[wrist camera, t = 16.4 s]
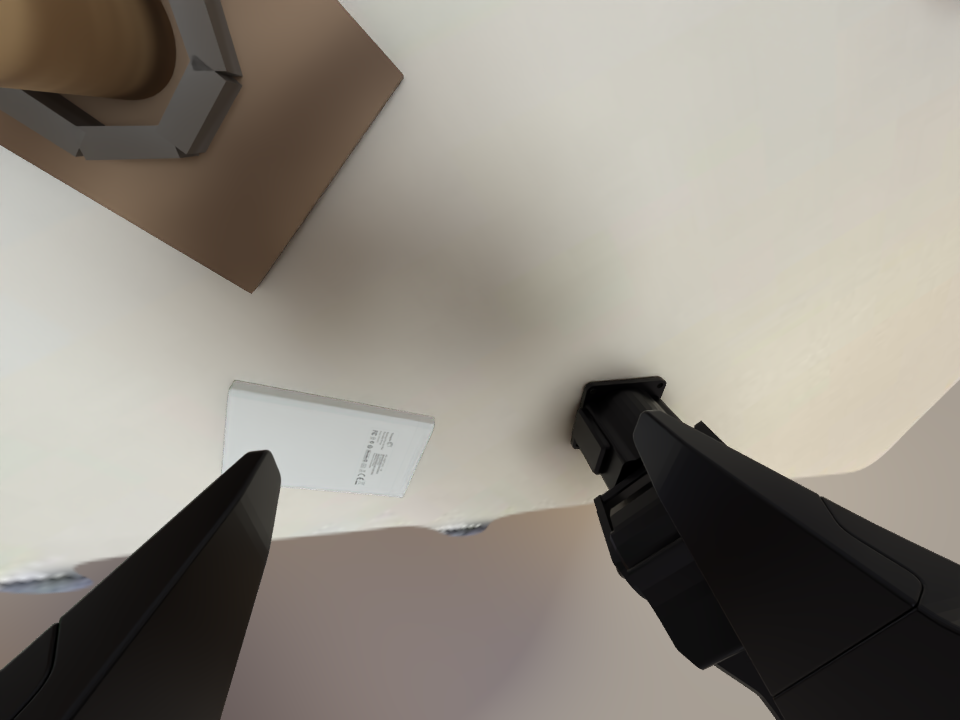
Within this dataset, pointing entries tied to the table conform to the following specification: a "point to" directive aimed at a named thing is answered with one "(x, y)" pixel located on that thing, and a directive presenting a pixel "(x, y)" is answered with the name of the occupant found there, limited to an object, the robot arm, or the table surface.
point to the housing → (219, 129)
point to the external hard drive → (325, 439)
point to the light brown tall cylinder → (86, 47)
